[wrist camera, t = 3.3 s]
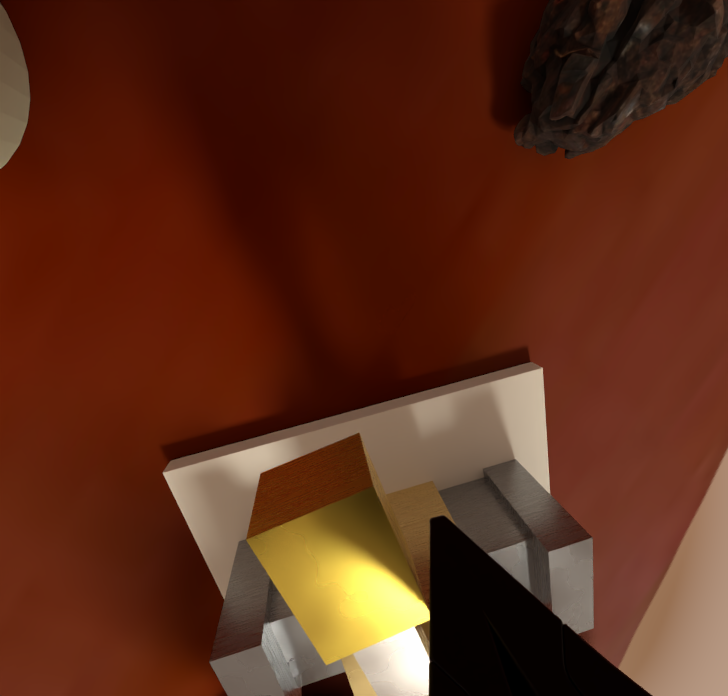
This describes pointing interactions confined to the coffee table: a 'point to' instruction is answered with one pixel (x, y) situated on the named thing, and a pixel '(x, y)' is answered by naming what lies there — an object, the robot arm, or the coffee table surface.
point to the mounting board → (372, 452)
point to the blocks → (413, 511)
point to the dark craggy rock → (615, 66)
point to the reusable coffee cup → (12, 90)
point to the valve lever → (344, 564)
